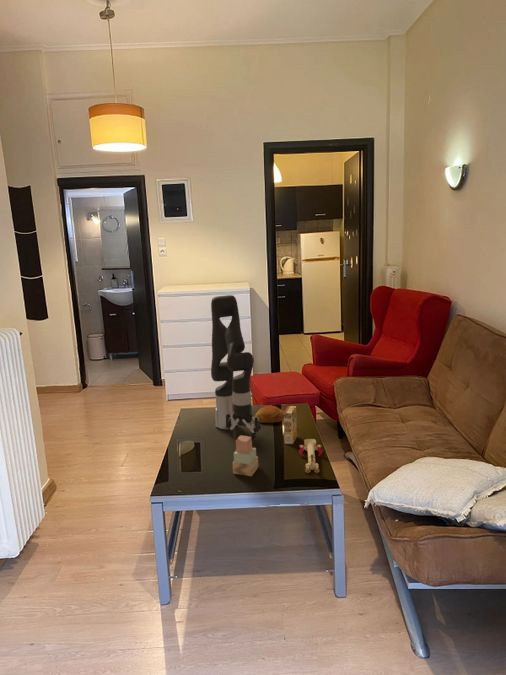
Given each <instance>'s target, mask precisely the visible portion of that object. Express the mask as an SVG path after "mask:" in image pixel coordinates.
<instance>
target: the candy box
mask: <svg viewBox="0 0 506 675" xmlns="http://www.w3.org/2000/svg"><path fill="white" fill-rule="evenodd" d="M283 412H284V420H283V432H284V434H283V436H284V444H287V445H293V444H295V443H294V442H295V441H296V439H297V437H298V432H297V431H298V430H297V427H298V426H297V406H293V405H288V406H287V407H286V409H284V410H283Z"/></svg>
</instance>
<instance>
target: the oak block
mask: <svg viewBox="0 0 506 675" xmlns="http://www.w3.org/2000/svg"><path fill="white" fill-rule="evenodd" d="M258 468H259V456H257V455H256V458H255V459H254V461H253V462H252V463H251V464H250V465H249V464H242V463H235V462H234V460H233V461H232V474H234V475H241V476H246V477H252V476H253V475H254V473H255V472H256V471H257V470H258Z"/></svg>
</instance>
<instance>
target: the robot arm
mask: <svg viewBox="0 0 506 675" xmlns="http://www.w3.org/2000/svg"><path fill="white" fill-rule="evenodd" d="M210 309H211V310H210V311H211V322H212V328H211V329H212V330H211V365H210V366H211V367H210V375H211V379H212V381H214V382H224V383H222V384H221V385H218V386H217V387H216V388H215V390H214V391H215V392H214V394H215V408H214V421H215V422H214V425H215V428H218V429H219V430H230V437H231V438H232V439H235V438H236V437H237V434H236V433H237V431H236V427H237V425H238V426H239V427H240V426H242V427H247V429H248V430H249V431H250V432H251V433H250V435H251V436H250V437H251V441H252V442H255V440H256V439H257V433H258V432H260V430H261V423H260V417H259V416H257V417H255V415H254V416H253V414H252V413H253V410H252V409H253V408H252V404H253V403H252V401H253V400H252V393H251V376H252V371H253V368H254V363H255V361H254V356H253V354H252V353H251V352H248V351H247V352H244V351H245V349H246V344H245V341H244V336H243V334H242V329H241V321H240V314H239V305H238V301H237V298H236V296H235V295H232V294H230V295H229V294H228V295H219V296H214V297H212V299H211V303H210ZM228 317H231V320H230V322H229V323H228V326H225V324H224V323H223V322H222V321H221V318H228ZM226 356H227V358H226V361H222V360H223V359H224V358H225V357H226ZM234 372H241V373H240V374H237V375H234Z"/></svg>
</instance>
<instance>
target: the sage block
mask: <svg viewBox="0 0 506 675" xmlns="http://www.w3.org/2000/svg"><path fill="white" fill-rule="evenodd" d="M256 456H257V448H256V447H252V449H251V450H250V451H249V452H248V453H242V452H236V450H235V451H234V452H233V461H234V462H235V463H242V464H249V465H250V464H251V463H252V462H253V461H254V459H255V458H256Z"/></svg>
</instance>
